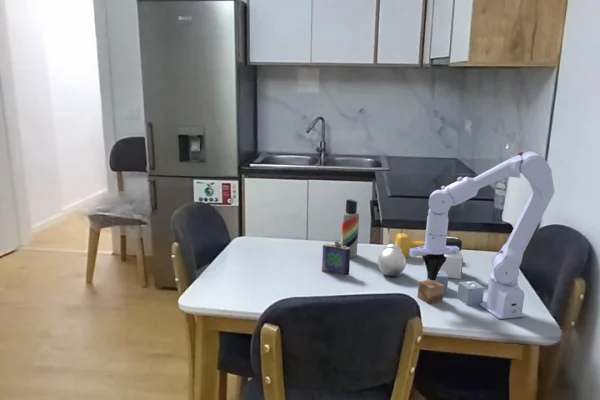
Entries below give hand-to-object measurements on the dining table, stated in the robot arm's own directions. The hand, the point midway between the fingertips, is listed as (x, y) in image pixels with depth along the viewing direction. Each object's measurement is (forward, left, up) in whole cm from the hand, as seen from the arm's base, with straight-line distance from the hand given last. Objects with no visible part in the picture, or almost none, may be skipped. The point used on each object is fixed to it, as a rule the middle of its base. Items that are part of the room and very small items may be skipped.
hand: (431, 279), depth 153 cm
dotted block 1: (+7, -6, -6) cm, 11 cm away
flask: (+25, +20, -7) cm, 33 cm away
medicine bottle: (+17, -16, -7) cm, 24 cm away
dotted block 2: (-3, -11, -6) cm, 13 cm away
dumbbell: (+34, -15, -7) cm, 37 cm away
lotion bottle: (+40, +10, -6) cm, 42 cm away
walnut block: (0, 0, -6) cm, 6 cm away
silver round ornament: (+20, +3, -7) cm, 21 cm away
